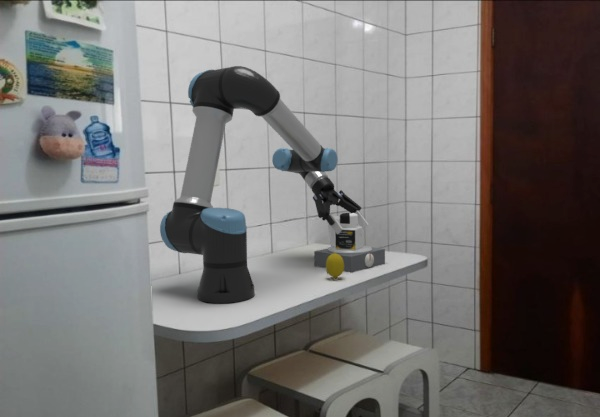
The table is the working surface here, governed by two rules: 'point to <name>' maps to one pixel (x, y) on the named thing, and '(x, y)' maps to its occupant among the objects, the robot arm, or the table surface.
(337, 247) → the medicine bottle
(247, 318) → the table surface
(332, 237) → the clear plastic beaker
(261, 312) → the table surface
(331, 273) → the lemon
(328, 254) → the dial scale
